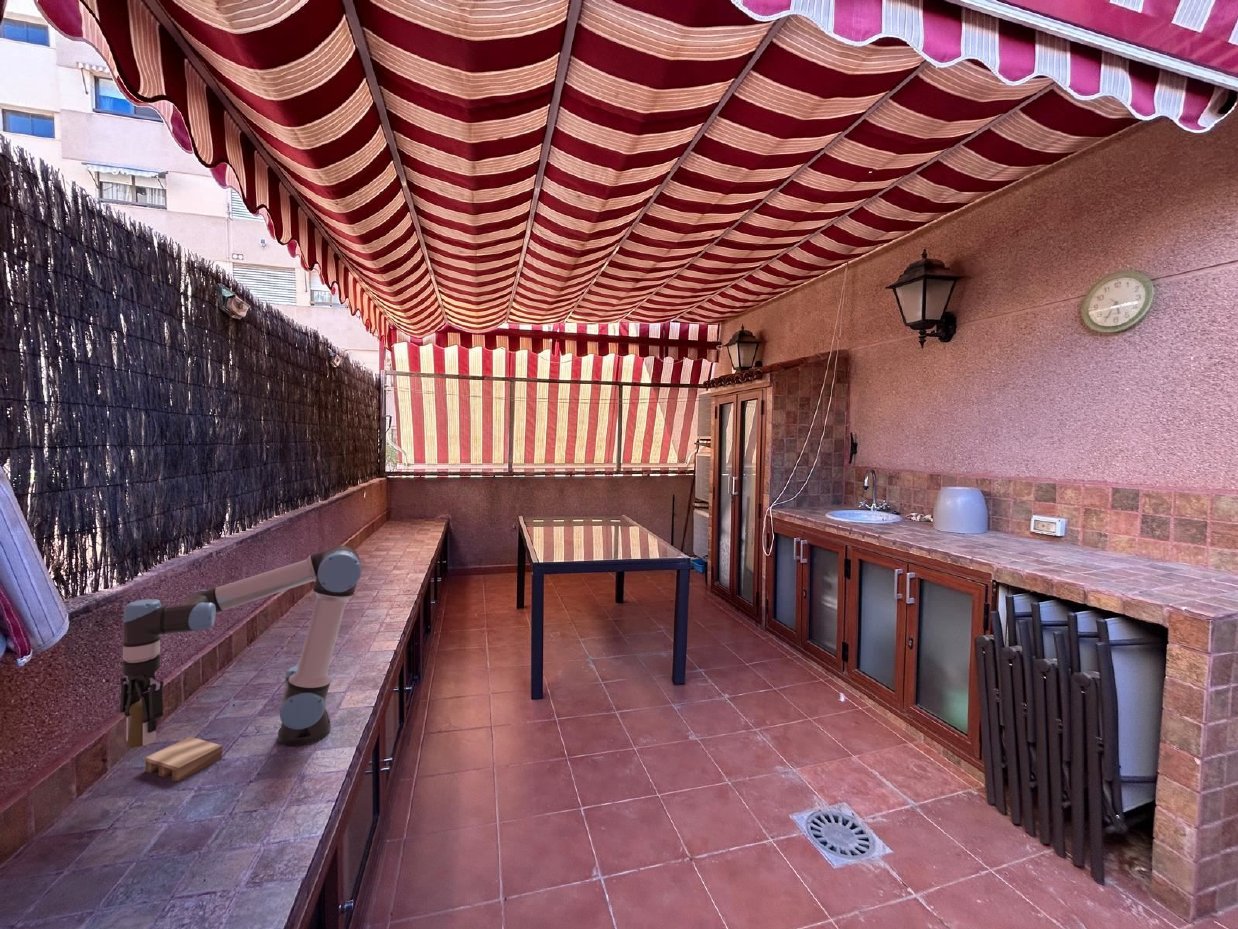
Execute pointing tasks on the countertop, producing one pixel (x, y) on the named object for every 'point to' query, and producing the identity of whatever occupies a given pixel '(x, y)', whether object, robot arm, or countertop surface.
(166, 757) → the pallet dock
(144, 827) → the countertop surface
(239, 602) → the robot arm
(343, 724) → the countertop surface
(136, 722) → the cork
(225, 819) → the countertop surface
